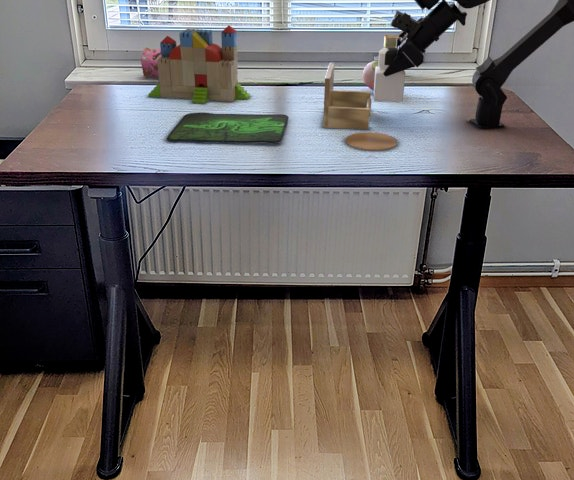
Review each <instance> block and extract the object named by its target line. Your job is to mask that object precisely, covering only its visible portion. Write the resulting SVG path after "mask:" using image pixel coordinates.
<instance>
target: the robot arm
mask: <svg viewBox="0 0 574 480" xmlns="http://www.w3.org/2000/svg"><path fill="white" fill-rule="evenodd" d="M413 1H414V3H416V4H417V6H418V7H419V8H420V9H421V10H422V11H423V10H425V9H426V10H428V11H430V10H431V9H432V10H431V11H430V12H429V13H428V14H427V15H426V16H424V17H419V18H418V20H416V19H414V18H412V16H411V14H408V13H407V12H401V11H400V10H398V9H396V10H395V12H394V14H393V16H392V17H391V20H390V21H389V22H390V23H389V24H390V26H391V27H392V28H394V29H398V30H399V31H400V32H399V33H398V34H397V36H399V37H401V39H399V38H398V37H397V44H396V48H398V51H397V56H396V57H395V58H394V60H393V61H392V62H391V63H390V65H389V66H388V67H387V69H386V70H385V71H384V73H383V74H384V75H385V76H389V75H392V74H395V73H397V72H400V71H403V70H404V71H406V70H409V69H412V68H415V67H416V68H419V67H420V66H421V65H422V64H423V63H424V60H425V53H426V52H427V49H428V48H429V47H430V46H431V45H433V43H435V42H438V41H439V40H440V37H441V36H442V35H443V34H444V33H446V31H447V30H449V29H450V28H451V27H452V26H453V25H454V24H455V23H457V21H458V22H459V23H460V24H461V25H462V26H466V19H467V16H468V13H467V11H461V9H460V8H459V7H458V6H457V5H456V4H455V2H457V4H458V5H459V6H460V7H461V8H463V9H473V8H476V7H479V6H480V5H484V4H486V3H488V2H490V1H491V0H451V1H452V3H450V4H449V3H448V2H447V0H413ZM573 22H574V0H557V2H556V4H555V5H554V6H553V9H552V10H551V11H550V12H549V14H547V15H546V16H545V17H543V19H542V20H541V21H539V22H538V23H537V24H536V25H535V26H534V27H532V28H531V29H530V30H529V31H528V32H527V33H526V34H525V35H524V36H522V37H521V38H520V39H519V40H518V41H517V42H516V43H514V45H512V46H511V47H510V48H509V49H508V50H507V51H506V52H504V53H503V54H502V55H500V57H497V58H495V59H492V58H491V56H488V57H487V58H486V59H485V60H484V61H483V62H482V63H481V64H480V65H478V66H476V67H475V69H476V71H474V72H473V74H472V77H471V78H472V81H471V82H472V87H473V88H474V89H475V91H476V93H477V94H478V95H479V97H478V100H477V104H476V110H475V118H471V119H469V123H471V124H473V125H474V126H476V127H478V128H480V129H483V130H485V129H494V128H497V129H498V128H505V124H504V123H502V122H501V117H502V112H503V106H504V105H505V103H506V100H507V98H508V96H507V94H506V93H505V91H504V90H503V88H502V87H503V85H504V84H505V83H506V82H507V80H508V78H509V77H510V75H511V74H512V73H513V71H514V70H515V69H517V68H518V67H519V66H520V65H521V64H522V63H523V62H524V61H526V60H527V59H528V58H529V57H530V56H531V55H532V54H533V53H535V52H536V51H537V50H538V49H539V48H541V47H542V45H544V44H545V43H546V42H547V41H548V40H550V39H551V38H552V37H553V36H554V35H555V34H557V33H558V32H559V31H560V30H561V29H562V28H563V27H565V26H567V25H570V24H571V23H573Z"/></svg>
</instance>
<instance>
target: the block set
mask: <svg viewBox="0 0 574 480" xmlns="http://www.w3.org/2000/svg"><path fill="white" fill-rule="evenodd" d="M220 34H221V35H220V36H221V45H219V44H217V43H213V29H203V28H202V29H199V28H196V29H195V28H186V29H184V30H181V31H180V32H179V44H178V45H177V41H176V40H175V39H173V38H172V37H170V36H169V35H166V36H165V37H164V38H163V39H162V40H161V41H160V43H159V47H160V48H159V49H161V56H162V57H160V58H158V59H157V62H158V74H159V78H158V83H157V84H156V86H154V87H153V89H152V90H151V91H150V92H149V93H148V97H150V98H167V99H181V100H191V101H192V103H193V104H206V103H207V102H208V101H211V102H212V101H214V102H224V103H225V102H228V103H233V102H234V101H235V100H248V99H250V97H251V93H248V90H247V89H245V87H244V86H242V84H241V83H239V71H238V70H239V67H238V65H239V64H238V32H237V30H236V29H235V28H233V27H232V26H231V25H227V26H226V27H225V28H224V29H223V30H222V31H221V33H220Z"/></svg>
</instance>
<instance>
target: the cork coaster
mask: <svg viewBox="0 0 574 480" xmlns="http://www.w3.org/2000/svg"><path fill="white" fill-rule="evenodd" d="M345 143H346V144H347V145H348V146H349V147H351V148H354V149H357V150H361V151H362V150H363V151H373V152H374V151H375V152H376V151H379V152H380V151H386V150H392V149H393V148H394V149H395V147H397V145H398V140H397V139H396V137H394V136H391V135H390V134H389V135H388V134H385V133H380V132H357V133H356V132H355V133H353V134H350V135H348V136H347V137H346V138H345Z"/></svg>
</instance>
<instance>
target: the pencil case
mask: <svg viewBox="0 0 574 480" xmlns="http://www.w3.org/2000/svg"><path fill="white" fill-rule="evenodd" d="M160 57H162V56H161V48H159V49H158V48H148V47H144V48H143V50H142V52H141V57H140V64H141V69H142V75H143V77H145V78H153V79H159V74H158V62H157V59H158V58H160Z"/></svg>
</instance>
